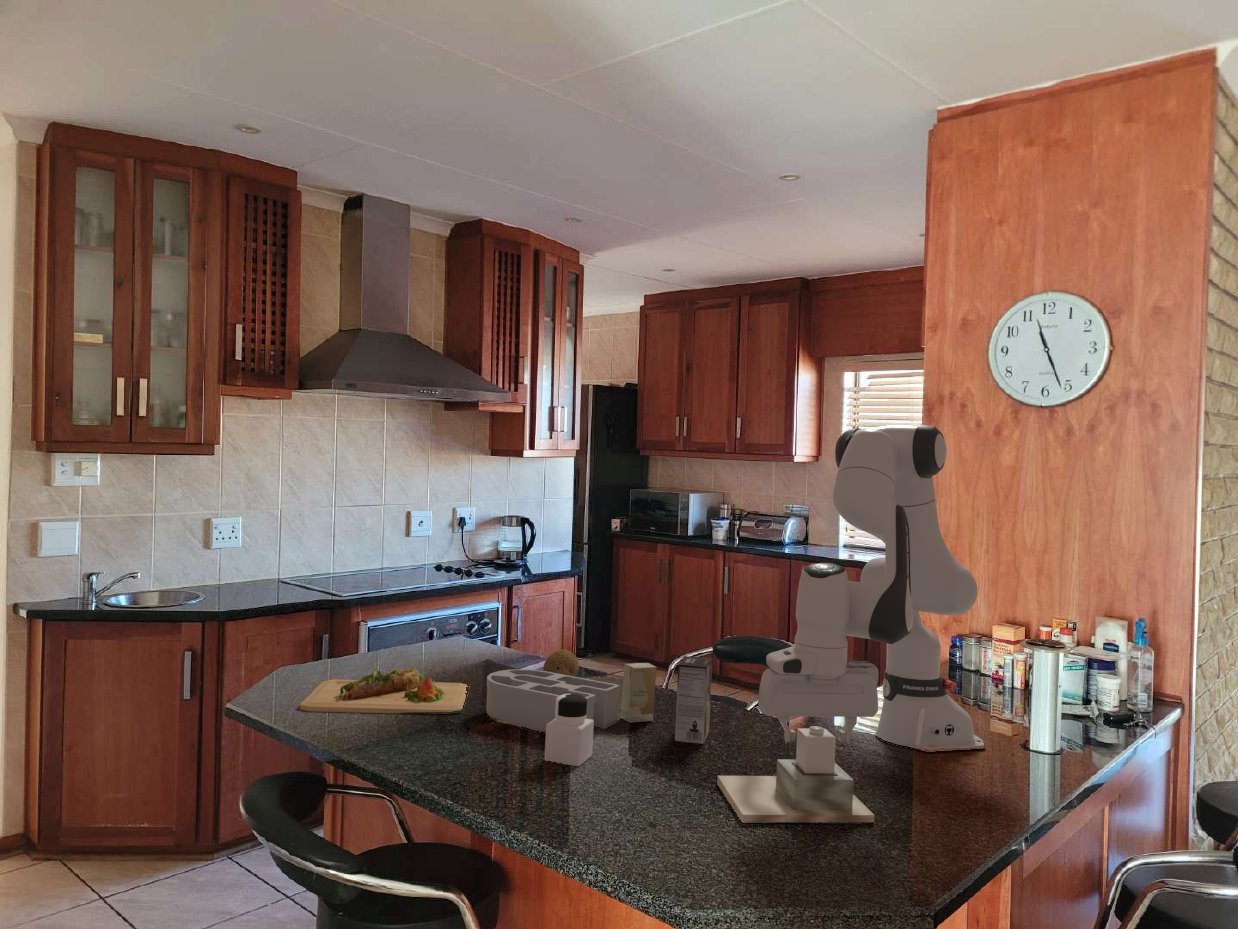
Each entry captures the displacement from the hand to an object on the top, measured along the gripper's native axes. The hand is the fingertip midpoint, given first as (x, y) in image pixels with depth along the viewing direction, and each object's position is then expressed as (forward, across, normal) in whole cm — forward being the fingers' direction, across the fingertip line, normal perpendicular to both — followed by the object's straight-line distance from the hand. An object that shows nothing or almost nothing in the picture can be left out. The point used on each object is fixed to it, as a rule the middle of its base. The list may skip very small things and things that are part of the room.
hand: (816, 741), depth 153 cm
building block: (+4, 0, 0) cm, 5 cm away
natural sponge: (+12, +39, -76) cm, 86 cm away
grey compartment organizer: (+12, +44, -49) cm, 67 cm away
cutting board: (+12, +79, -65) cm, 103 cm away
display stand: (+11, +3, -2) cm, 12 cm away
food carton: (+12, +13, -39) cm, 43 cm away
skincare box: (+12, +23, -51) cm, 57 cm away
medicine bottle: (+11, +40, -24) cm, 48 cm away
